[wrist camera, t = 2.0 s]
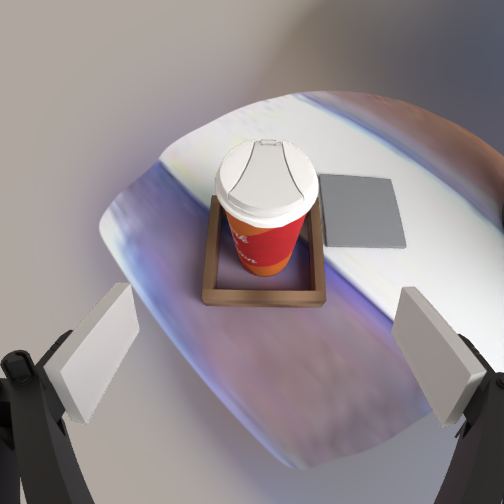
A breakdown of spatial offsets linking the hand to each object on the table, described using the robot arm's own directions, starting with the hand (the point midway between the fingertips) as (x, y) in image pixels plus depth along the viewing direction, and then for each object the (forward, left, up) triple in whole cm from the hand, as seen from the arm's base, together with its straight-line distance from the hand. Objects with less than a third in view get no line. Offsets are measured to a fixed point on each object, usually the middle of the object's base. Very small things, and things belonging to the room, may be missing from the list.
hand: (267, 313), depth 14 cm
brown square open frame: (0, -11, -17) cm, 20 cm away
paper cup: (0, -11, -17) cm, 20 cm away
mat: (-12, -17, -17) cm, 27 cm away
